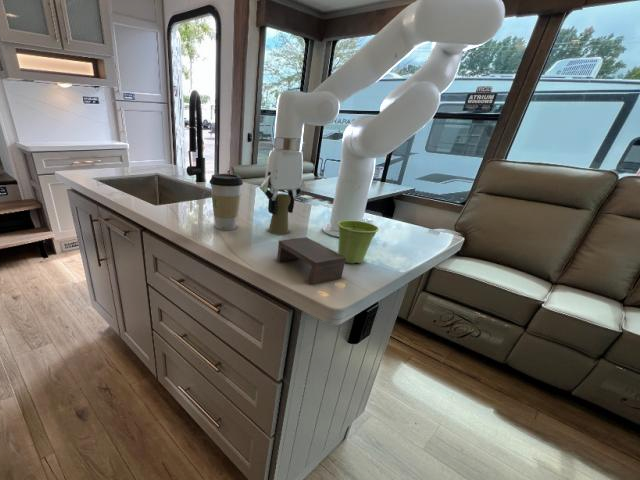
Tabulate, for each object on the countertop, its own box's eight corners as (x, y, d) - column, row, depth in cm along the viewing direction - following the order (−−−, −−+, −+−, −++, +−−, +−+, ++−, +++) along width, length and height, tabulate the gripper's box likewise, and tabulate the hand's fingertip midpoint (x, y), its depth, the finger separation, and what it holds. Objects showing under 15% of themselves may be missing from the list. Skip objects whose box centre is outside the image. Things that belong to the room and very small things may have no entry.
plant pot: (336, 249, 85) (343, 217, 81) (372, 257, 81) (382, 224, 77) (326, 260, 78) (333, 226, 74) (365, 270, 74) (375, 234, 70)
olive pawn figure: (287, 234, 94) (292, 197, 89) (267, 232, 95) (270, 195, 90) (288, 229, 100) (293, 193, 94) (270, 227, 100) (273, 191, 95)
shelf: (303, 256, 80) (306, 237, 78) (341, 278, 69) (346, 257, 67) (276, 260, 77) (278, 240, 74) (312, 284, 66) (315, 262, 64)
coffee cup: (222, 220, 105) (223, 172, 97) (247, 226, 100) (249, 176, 92) (203, 227, 98) (202, 175, 90) (228, 233, 93) (229, 180, 85)
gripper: (304, 144, 92) (296, 207, 101) (253, 144, 85) (249, 211, 94) (321, 147, 86) (311, 213, 95) (267, 146, 79) (261, 218, 88)
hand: (280, 211), depth 95 cm, fingers closed on olive pawn figure, 5 cm apart
